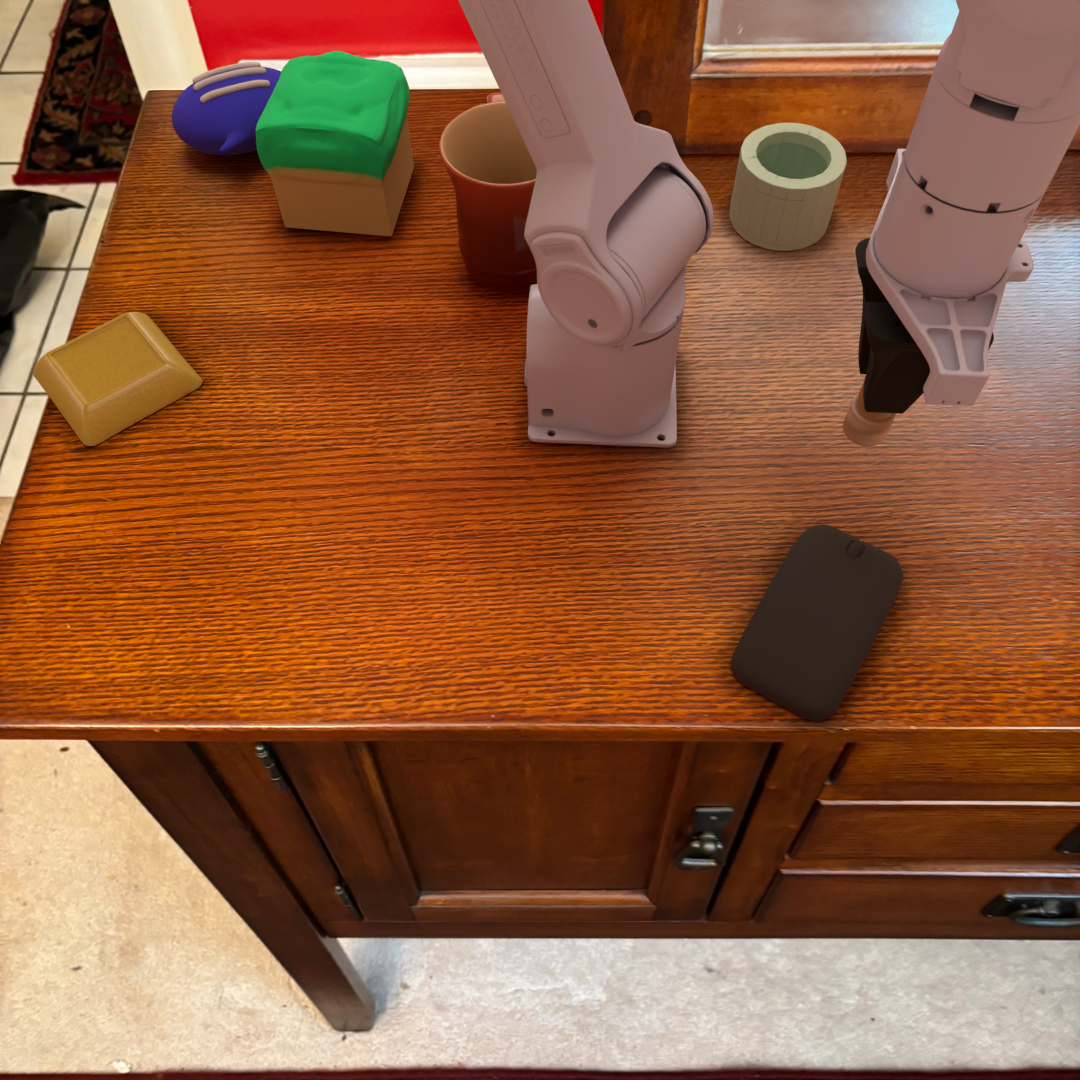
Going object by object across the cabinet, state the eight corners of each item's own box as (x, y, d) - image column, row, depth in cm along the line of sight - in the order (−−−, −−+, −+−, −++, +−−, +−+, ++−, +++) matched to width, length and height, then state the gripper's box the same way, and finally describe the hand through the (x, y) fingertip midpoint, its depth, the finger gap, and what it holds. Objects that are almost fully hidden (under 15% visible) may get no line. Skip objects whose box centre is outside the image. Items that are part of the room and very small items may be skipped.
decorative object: (155, 99, 70) (163, 58, 77) (177, 179, 74) (183, 133, 81) (303, 86, 72) (297, 47, 79) (316, 165, 75) (310, 121, 83)
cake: (428, 153, 78) (412, 31, 69) (399, 244, 72) (379, 123, 64) (309, 144, 79) (280, 22, 70) (272, 233, 73) (235, 112, 64)
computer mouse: (905, 576, 57) (928, 539, 53) (827, 730, 52) (846, 700, 48) (806, 528, 59) (821, 489, 55) (721, 672, 54) (732, 640, 50)
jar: (731, 249, 72) (743, 187, 67) (727, 184, 76) (738, 120, 71) (832, 252, 71) (852, 190, 67) (823, 187, 75) (841, 123, 71)
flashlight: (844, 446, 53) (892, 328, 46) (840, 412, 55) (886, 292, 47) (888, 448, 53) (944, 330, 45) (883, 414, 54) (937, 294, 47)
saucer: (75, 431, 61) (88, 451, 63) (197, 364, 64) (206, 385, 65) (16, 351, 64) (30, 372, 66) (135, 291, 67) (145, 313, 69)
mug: (579, 301, 69) (583, 179, 60) (456, 312, 69) (442, 191, 60) (559, 192, 75) (559, 67, 67) (446, 201, 75) (432, 77, 66)
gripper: (1120, 298, 35) (982, 507, 47) (1041, 64, 43) (939, 293, 55) (923, 290, 36) (834, 499, 47) (879, 60, 43) (811, 288, 55)
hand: (881, 389), depth 51 cm, fingers closed on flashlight, 2 cm apart
